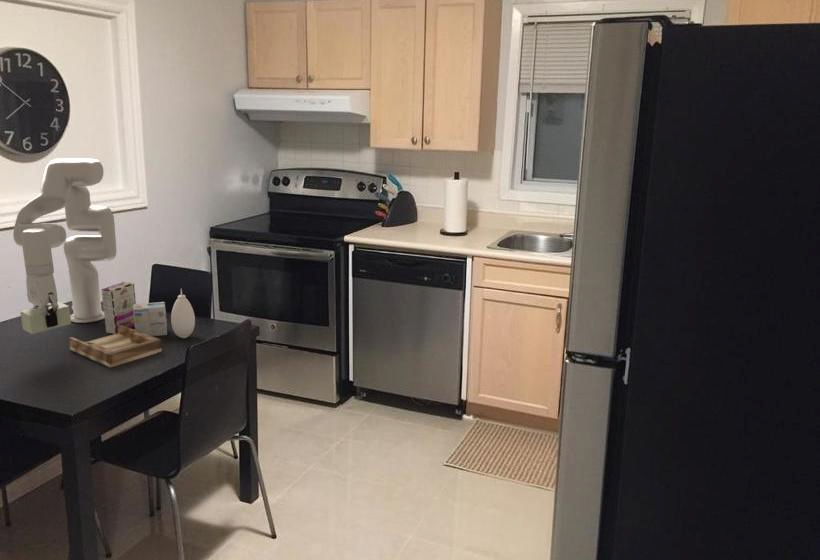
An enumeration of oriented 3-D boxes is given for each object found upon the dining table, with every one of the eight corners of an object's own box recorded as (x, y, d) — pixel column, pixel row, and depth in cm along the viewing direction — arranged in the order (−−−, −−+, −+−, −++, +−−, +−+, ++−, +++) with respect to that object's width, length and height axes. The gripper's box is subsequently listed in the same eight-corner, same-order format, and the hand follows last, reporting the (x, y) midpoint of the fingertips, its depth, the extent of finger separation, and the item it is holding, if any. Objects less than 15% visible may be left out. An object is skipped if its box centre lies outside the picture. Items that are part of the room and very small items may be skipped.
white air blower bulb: (198, 333, 234) (195, 285, 230) (192, 341, 227) (189, 291, 222) (176, 333, 234) (173, 285, 230) (169, 341, 227) (165, 291, 222)
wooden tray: (70, 349, 216) (68, 337, 215) (121, 335, 230) (120, 324, 229) (110, 367, 203) (109, 354, 202) (161, 351, 217) (160, 339, 216)
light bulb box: (167, 329, 238) (165, 301, 235) (167, 335, 232) (165, 306, 229) (135, 332, 234) (133, 303, 232) (135, 338, 228) (132, 308, 226)
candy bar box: (127, 323, 243) (123, 281, 238) (138, 325, 241) (135, 282, 237) (104, 333, 232) (100, 288, 228) (116, 335, 231) (112, 290, 227)
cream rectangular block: (22, 329, 203) (20, 311, 202) (62, 319, 213) (59, 301, 211) (31, 334, 200) (29, 315, 198) (71, 323, 209) (69, 306, 207)
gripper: (13, 266, 203) (21, 320, 208) (41, 276, 193) (48, 333, 198) (38, 261, 208) (45, 314, 214) (66, 271, 199) (73, 327, 204)
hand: (46, 323), depth 206 cm, fingers closed on cream rectangular block, 6 cm apart
